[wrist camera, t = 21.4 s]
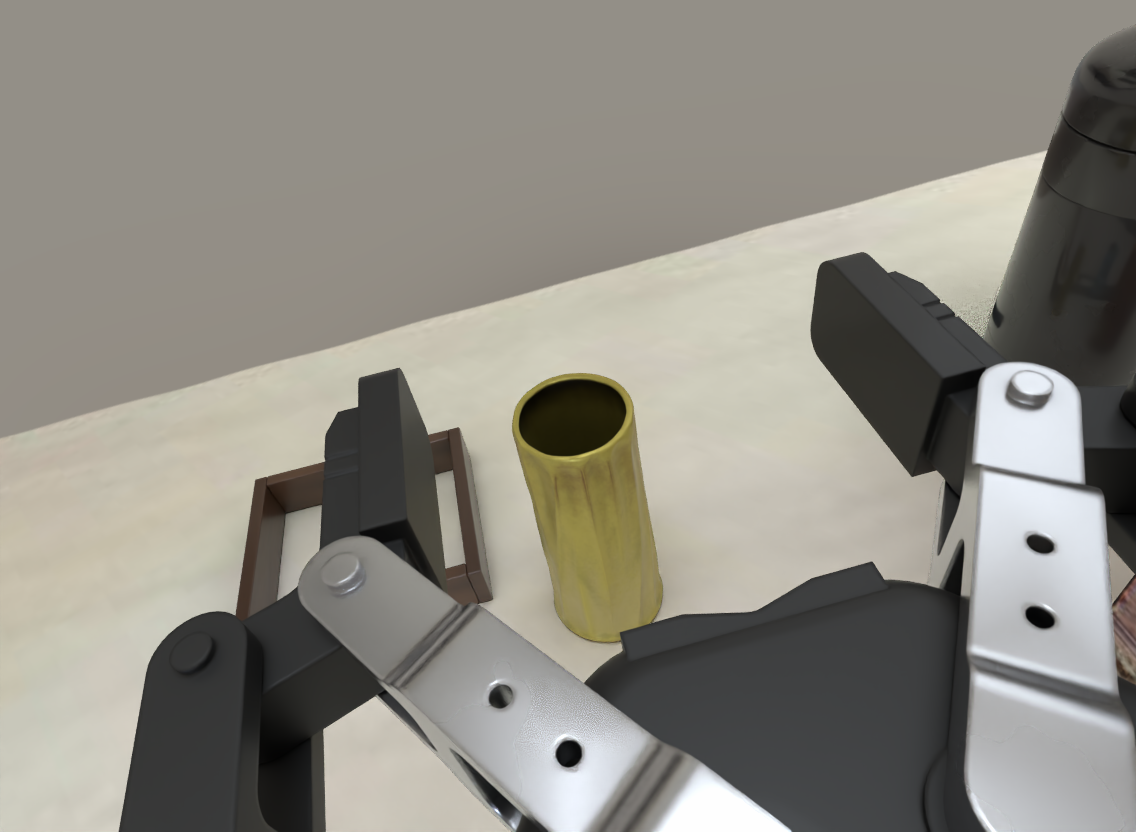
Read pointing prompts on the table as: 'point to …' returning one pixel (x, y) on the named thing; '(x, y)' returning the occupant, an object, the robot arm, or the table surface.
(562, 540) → the vase
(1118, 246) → the robot arm
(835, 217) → the table surface
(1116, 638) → the book
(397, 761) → the table surface
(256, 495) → the open brown wooden box
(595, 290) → the table surface
